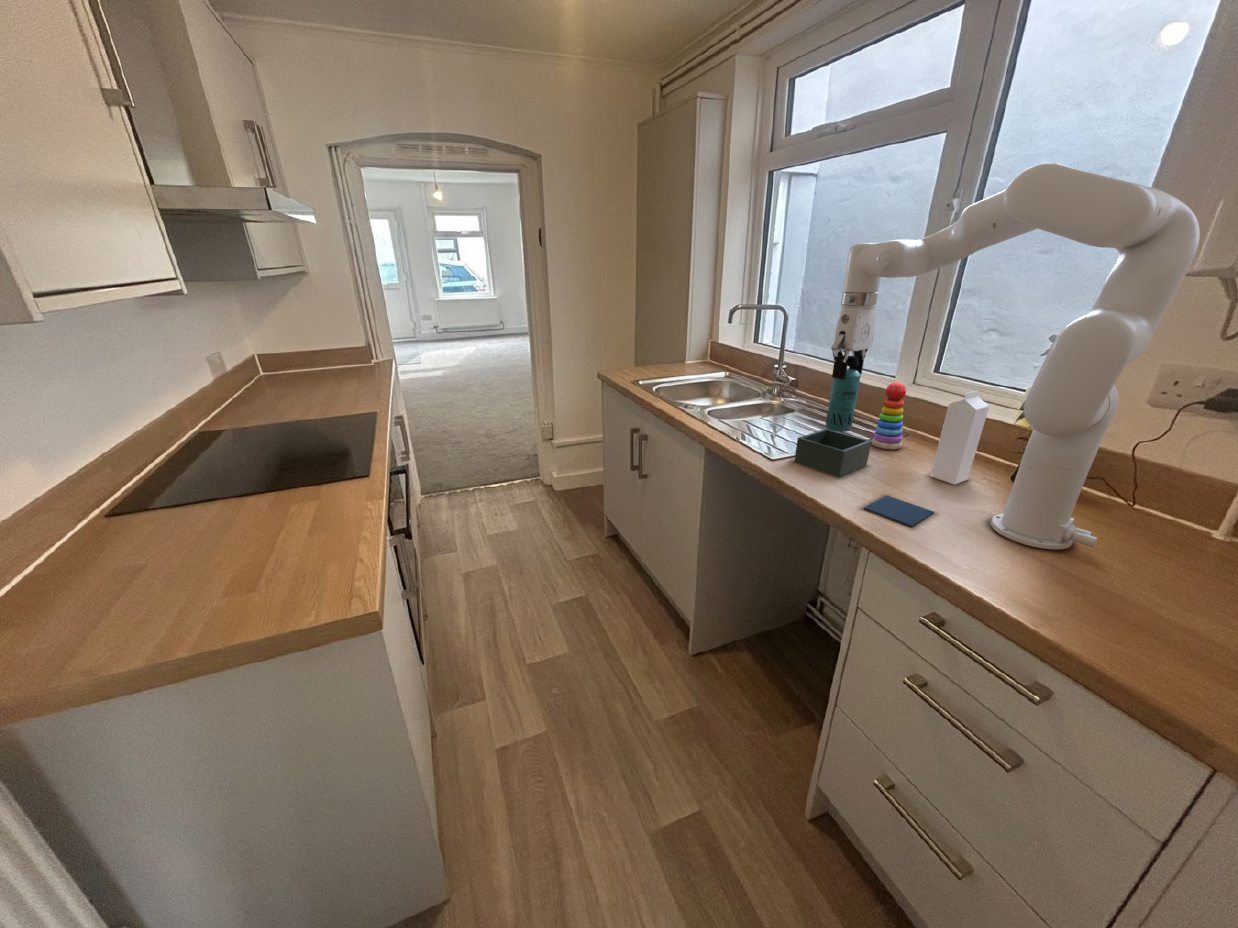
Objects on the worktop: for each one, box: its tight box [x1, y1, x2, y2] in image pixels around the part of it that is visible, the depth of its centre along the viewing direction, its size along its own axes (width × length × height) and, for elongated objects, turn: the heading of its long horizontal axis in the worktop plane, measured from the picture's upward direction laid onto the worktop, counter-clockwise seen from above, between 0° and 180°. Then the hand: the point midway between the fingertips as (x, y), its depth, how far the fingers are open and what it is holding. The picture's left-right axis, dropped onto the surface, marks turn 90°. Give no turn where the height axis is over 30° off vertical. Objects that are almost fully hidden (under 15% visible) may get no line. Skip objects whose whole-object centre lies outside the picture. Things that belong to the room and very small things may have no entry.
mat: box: [863, 495, 935, 528], centre depth 104 cm, size 10×10×1 cm
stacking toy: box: [871, 382, 907, 451], centre depth 138 cm, size 8×8×19 cm
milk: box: [929, 389, 990, 485], centre depth 116 cm, size 6×6×22 cm
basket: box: [793, 428, 872, 478], centre depth 128 cm, size 13×13×7 cm
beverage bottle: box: [825, 355, 862, 433], centre depth 121 cm, size 6×7×20 cm
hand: (846, 375), depth 120 cm, fingers closed on beverage bottle, 6 cm apart
